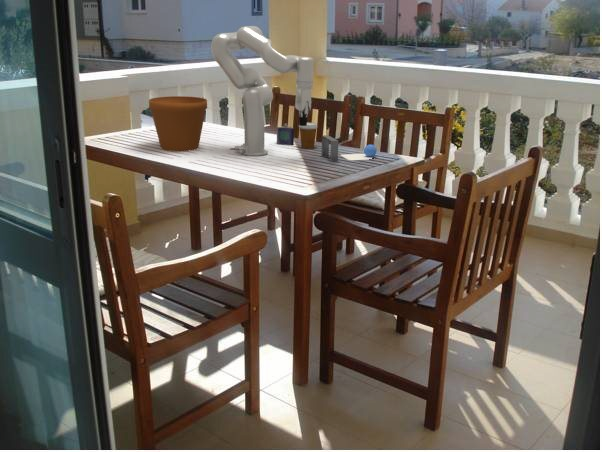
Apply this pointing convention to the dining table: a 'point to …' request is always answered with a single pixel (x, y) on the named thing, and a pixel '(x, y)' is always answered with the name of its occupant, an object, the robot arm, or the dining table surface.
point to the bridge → (334, 148)
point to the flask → (285, 135)
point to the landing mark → (356, 157)
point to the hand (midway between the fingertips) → (302, 125)
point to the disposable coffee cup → (308, 135)
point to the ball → (370, 150)
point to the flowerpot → (178, 121)
